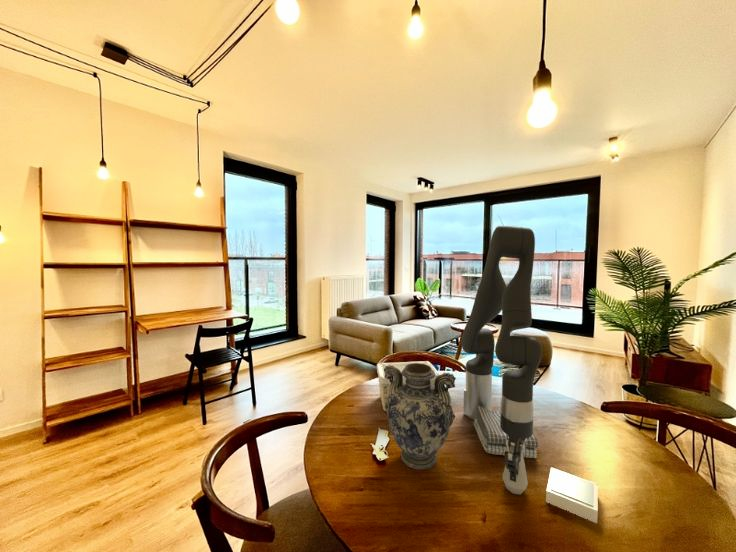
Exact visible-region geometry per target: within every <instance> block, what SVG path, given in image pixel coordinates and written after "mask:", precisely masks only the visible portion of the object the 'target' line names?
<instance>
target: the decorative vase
mask: <svg viewBox="0 0 736 552" xmlns="http://www.w3.org/2000/svg"><path fill="white" fill-rule="evenodd" d="M384 372H385V376H384V378H386V379H389V381H390V383H391V384H390V387H389V396H388V398H387V402H386V404H385V409H386V411H387V412H386V415H387V420H388V425H389V430H390V432H391V435H392V437H393V439H394V441H395V443H396V445H397V446H398V447H399V448H400V449H401V453H400V458H401V461H402V462H403V464H404V465H406V466H407V467H408V468H411V469H413V470H419V471H421V470H422V471H423V470H429V469H430V468H432V467H434V466H436V463H437V459H438V458H437V454H436V453H438V452H439V451H440V450H441V448H442V447H443V445H444V444H445V442H446V440H447V438H448V435H449V432H450V427H451V426H452V424H453V422H454V420H455V418H456V415H455V412H454V410H453V408H452V405H451V403H452V398H451V394H450V392H449V390H450V389H452V388H456V384H455V380H456V377H455V376H454V374H453V373H450V372H443V373H441V374H439V376H438V377H437V378H436V379H435V386H434V385H431V381H430V380H431V379H433V378H434V377H435V372H434V371H433V370H432V369H431V367H430V366H428V365H425V364H420V363H413V364H408V365H406V367H405V368H404V369H403V370H402V373H401V371H400V370H399V369H397V368H395V367H394V366H391V365H389V366H385V368H384ZM393 376H394V377H393ZM403 376H404V377H405V378H406V383H405V384H403ZM393 379H394V380H393Z"/></svg>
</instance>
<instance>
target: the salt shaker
mask: <svg viewBox="0 0 736 552" xmlns="http://www.w3.org/2000/svg"><path fill="white" fill-rule="evenodd" d="M522 443H523V442H522ZM524 451H525V444H524V449H523V450H522V460H521V462H519V467H520V469H519V472H518V475H517V474H516V482H514V481H511V480H510V472H509V469H507V468H506V464H505V466H504V470H503V474H502V481H503V482H504V485H505V488H506V490H508V491H509V492H510V493H511V494H513V495H519V496H520V495H522V493H524V491H526V489H527V487H528V484H529V481H528V477H527V471H526V465H525V464H526V463H525V459H524V458H525V457H523V453H524ZM517 456H518V455H517ZM512 478H513V477H512ZM513 479H514V478H513Z"/></svg>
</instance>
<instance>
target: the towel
mask: <svg viewBox="0 0 736 552" xmlns="http://www.w3.org/2000/svg"><path fill="white" fill-rule="evenodd" d="M500 413H501V410H500V411H499V410H498V411H495V410H491V411H490V410H488V409H486V408H484V407H481V406H478V407H477V413H476V415H477V419H475V420H474V422H473V423H472V425H473V427H474V429H475V431H476V434H477V436H478V438H479V441H480V443H481V445H482V447H483V449H484V451H485V452H486V453H487V454H491V455H496V456H497V455H498V456H505V454H504V453H505V451H507V446H506V438H508V435H507V434H506V433H504V432H503V431H502V429H501V427H500ZM537 440H538V439H537V436H536V435H535V433H534V431H533V435H532V436H531V437H530V438H527V439H526V443H525V451H524V455H523V458H527V459H537V458H538V456H537V455H538V454H537V452H538V451H537V448H538V447H539V444H538V441H537Z"/></svg>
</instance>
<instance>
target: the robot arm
mask: <svg viewBox="0 0 736 552" xmlns="http://www.w3.org/2000/svg"><path fill="white" fill-rule="evenodd" d="M535 247H536V238H535V233H534V230H533V229H531V228H530V227H523V226H516V225H515V226H514V225H513V226H512V225H504V224H503V225H497V226H496V227H495V229H494V230H493V232H492V236H491V238H490V242H489V247H488V252H487V257H486V261H485V265H484V270H483V272H482V276H481V279H480V282H479V285H478V288H477V291H476V294H475V298H474V301H473V306H472V308H471V311H470V316H469V317H468V319H467V322H466V325H465V327H464V329H463V332H462V335H461V341H460V342H461V343H460V344H461V348H462V350H463V352H465V353H466V354H468V355H469V354H470V355H475V357H474V358H471V359H469V360H467V361H466V363H465V388H464V390H463V415H464V416H466V417H468V418H469V419H471V420H475V419H477V415H476V413H477V407H478V406H481V407H484V408H486V409H488V410H490V411H492V393H493V392H492V391H493V389H492V386H493V385H492V381H493V379H492V378H493V377H492V376H493V368H494V355H495V357H496V358H497V360H498V361H499V362H500V363H502V364H507V365H519V366H522V367H521V368H519V369H512V370H507V371H504V372H503V374H502V377H501V378H502V379H501V398H500V412H501V413H500V427H501V429H502V431H503V432H504V433H506V434H507V435H508V438H506V446H507V451H505V453H504V454H505V455H504V461H505V465H506V468H507V469H509V472H510V480H511V481H514V482H516V474H517V475H518V472H519V469H520V467H519V462H521V460H522V450H523V449H524V444H525V443H526V439H527V438H530V437H531V436H532V435H533V432H534V395H533V394H534V381H535V376H536V373H537V371H538V368H539V366H540V363H541V361H542V358H543V346H542V343H541V342H540V340H538V339H537V338H535V337H533V336H532V337H531V336H520V335H511V333H512V332H513V331H518V330H524V329H527V328H530V327H531V326H532V322H533V317H532V315H533V314H532V313H533V312H532V302H531V301H532V298H531V295H532V294H531V291H532V290H531V288H532V280H533V279H532V278H533V271H534V270H533V269H534V259H535V249H536V248H535ZM501 258H509V259H517V260H518V267H517V271H516V272H515V273H514V275H513V276H512V278H511V280H510V281H509V283H508V284H506V281H505V279H504V277H503V276H502V271H501V268H500V261H501ZM500 313H501V325H500V330H499V334H498V336H497V340H496V343H495V336H494V334H493V331H492V330H491V329H489V328H484V327H485V326H486V325H488V324H489V323H490V322H491V321H492V320H493V319H495V318H497V316H498V315H499V314H500ZM522 442H523V443H522ZM517 455H518V456H517ZM523 455H524V453H523ZM512 477H513V478H514V479H513V478H512Z"/></svg>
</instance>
